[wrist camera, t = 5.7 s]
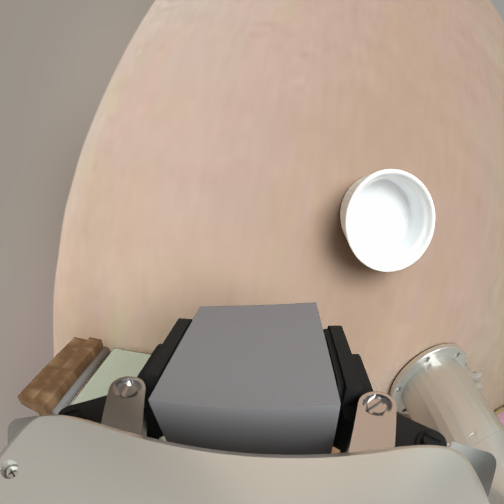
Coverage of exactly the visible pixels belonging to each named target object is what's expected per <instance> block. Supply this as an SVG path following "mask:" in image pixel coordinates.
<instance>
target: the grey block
mask: <svg viewBox="0 0 504 504" xmlns="http://www.w3.org/2000/svg"><path fill="white" fill-rule="evenodd" d="M148 401H149V403H150V406H151V408H152V410H153V413H154V415H155V417H156V419H157V422H158V424H159V426H160V428H161V430H162V433H163V435H164V437H165V439H166V441H168V442H173V443H178V444H183V445H189V446H194V447H201V448H207V449H215V450H222V451H232V452H242V453H255V454H278V455H312V454H331V452H332V447H333V443H334V438H335V433H336V428H337V422H338V417H339V411H340V405H341V403H340V398H339V394H338V389H337V385H336V381H335V376H334V372H333V368H332V364H331V360H330V355H329V351H328V347H327V343H326V339H325V335H324V332H323V328H322V324H321V320H320V316H319V312H318V309H317V305H316V302H314V303H297V304H278V305H252V306H208V307H200V308H199V310H198V312H197V314H196V315H195V317H194V319H193V321H192V322H191V324H190V326H189V328H188V329H187V331H186V333H185V335H184V336H183V338H182V340H181V342H180V344H179V345H178V347H177V349H176V351H175V353H174V354H173V356H172V358H171V360H170V362H169V363H168V365H167V367H166V369H165V371H164V372H163V374H162V376H161V378H160V380H159V381H158V383H157V385H156V387H155V389H154V390H153V392H152V394H151V396H150V398H149V400H148Z"/></svg>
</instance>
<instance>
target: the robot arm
mask: <svg viewBox="0 0 504 504" xmlns="http://www.w3.org/2000/svg"><path fill="white" fill-rule="evenodd" d="M191 322H192V319H181V318H179V319H178V321H177V322H176V324H175V325H174V327H173V328H172V330H171V331H170V333H169V335H168V336H167V338H166V339H165V341H164V342H163V344H159V345H158V346H157V347H156V348H155V350H154V351H153V353H152V354H151V356H150V358H149V359H148V361H147V362H146V364H145V365H144V367H143V368H142V370H141V371H140V373H139V374H138V376H137V377H133V376H125V377H121V378H118V379H116V380H115V381H113V382H112V383H111V385H110V387H109V390H108V395H105V396H102V397H99V398H95V399H92V400H88V401H85V402H81V403H77V404H73V405H70V406H67V407H64V408H63V409H62V410H60V412H59V413H58V415H55V414H54V413H52V414H46V415H40V416H33V417H26V418H19V419H16V420H14V421H12V422H11V423H10V425H9V427H8V444H7V445H6V446H5V448H4V449H3V450H2V451H1V453H0V504H504V426H503V425H502V423H501V422H500V420H499V419H498V417H497V415H496V414H495V412H494V411H493V410H492V408H491V407H490V405H489V404H488V402H487V401H486V399H485V398H484V397H483V395H482V394H481V392H480V390H481V387H482V386H481V382H480V381H479V379H481V378H482V372H481V371H476V372H473V373H471V372H470V371H469V370H468V368H467V367H466V366H467V357H466V354H465V353H464V351H463V350H462V349H461V348H460V347H459V346H457V345H455V344H449V343H447V344H440V345H437V346H434V347H432V348H430V349H428V350H426V351H424V352H422V353H421V354H419V355H418V356H416V357H415V358H414V359H413V360H411V361H410V362H409V363H408V364H407V365H406V366H405V367H404V368H403V369H402V371H401V372H400V373H399V374H398V376H397V377H396V379H395V380H394V382H393V385H392V387H391V391H390V395H388V394H386V393H383V392H379V391H373V389H372V386H371V384H370V381H369V378H368V376H367V373H366V370H365V368H364V365H363V362H362V360H361V357H360V355H359V354H352V353H351V350H350V348H349V345H348V342H347V339H346V337H345V334H344V331H343V328H342V326H328V329H324V330H323V332H324V335H325V339H326V343H327V347H328V351H329V355H330V360H331V364H332V368H333V372H334V376H335V381H336V385H337V389H338V394H339V398H340V403H341V405H340V411H339V417H338V422H337V428H336V433H335V438H334V443H333V447H335V448H337V449H338V450H340V451H339V453H333V454H312V455H278V454H255V453H242V452H232V451H222V450H215V449H207V448H201V447H194V446H189V445H183V444H178V443H173V442H168V441H163V440H162V436H164V435H163V433H162V430H161V428H160V426H159V424H158V422H157V419H156V417H155V415H154V413H153V410H152V408H151V406H150V403H149V401H148V400H149V398H150V396H151V394H152V392H153V390H154V389H155V387H156V385H157V383H158V381H159V380H160V378H161V376H162V374H163V372H164V371H165V369H166V367H167V365H168V363H169V362H170V360H171V358H172V356H173V354H174V353H175V351H176V349H177V347H178V345H179V344H180V342H181V340H182V338H183V336H184V335H185V333H186V331H187V329H188V328H189V326H190V324H191ZM476 380H478V381H476ZM473 381H474V382H473ZM397 411H398V412H400V413H403V414H409V416H410V419H409V418H407V417H404V416H402V415H400V414H398V413H396V412H397Z"/></svg>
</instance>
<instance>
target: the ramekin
mask: <svg viewBox="0 0 504 504" xmlns="http://www.w3.org/2000/svg"><path fill="white" fill-rule="evenodd" d="M340 222H341V226H342V230H343V233H344V235H345V237H346V239H347V241H348V244H349V246H350V248H351V250H352V252H353V253H354V255H355V256H356V257H357V258H358V259H359V260H360V261H361V262H362V263H363V264H364V265H366V266H367V267H369V268H371V269H374V270H377V271H381V272H394V271H399V270H402V269H404V268H406V267H408V266H410V265H411V264H413V263H414V262H416V261H417V260H418V259H419V258H420V257H421V256H422V254H423V253H424V252H425V251H426V249H427V247H428V245H429V243H430V241H431V239H432V236H433V232H434V227H435V209H434V204H433V201H432V198H431V195H430V193H429V192H428V190H427V188H426V187H425V186H424V184H423V183H422V182H421V181H420V180H419V179H417V178H416V177H415V176H413V175H412V174H410V173H408V172H405V171H402V170H398V169H385V170H381V171H377V172H375V173H373V174H370V175H367V176H365V177H362V178H360V179H359V180H357V181H356V182H355V183H353V184H352V185H351V187H350V188H349V189H348V191H347V192H346V194H345V196H344V198H343V201H342V204H341V209H340Z"/></svg>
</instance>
